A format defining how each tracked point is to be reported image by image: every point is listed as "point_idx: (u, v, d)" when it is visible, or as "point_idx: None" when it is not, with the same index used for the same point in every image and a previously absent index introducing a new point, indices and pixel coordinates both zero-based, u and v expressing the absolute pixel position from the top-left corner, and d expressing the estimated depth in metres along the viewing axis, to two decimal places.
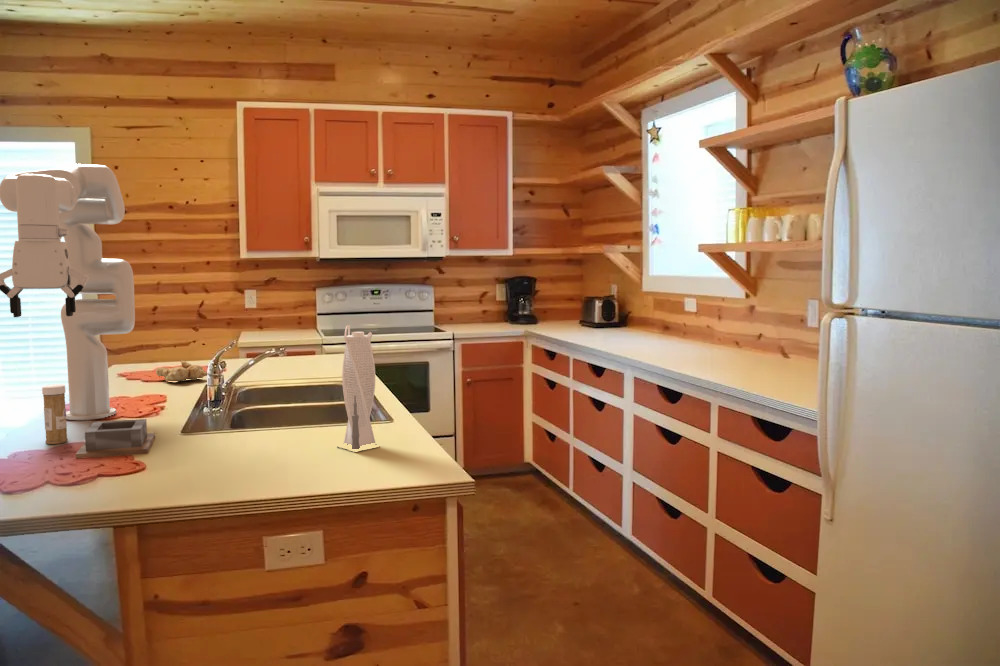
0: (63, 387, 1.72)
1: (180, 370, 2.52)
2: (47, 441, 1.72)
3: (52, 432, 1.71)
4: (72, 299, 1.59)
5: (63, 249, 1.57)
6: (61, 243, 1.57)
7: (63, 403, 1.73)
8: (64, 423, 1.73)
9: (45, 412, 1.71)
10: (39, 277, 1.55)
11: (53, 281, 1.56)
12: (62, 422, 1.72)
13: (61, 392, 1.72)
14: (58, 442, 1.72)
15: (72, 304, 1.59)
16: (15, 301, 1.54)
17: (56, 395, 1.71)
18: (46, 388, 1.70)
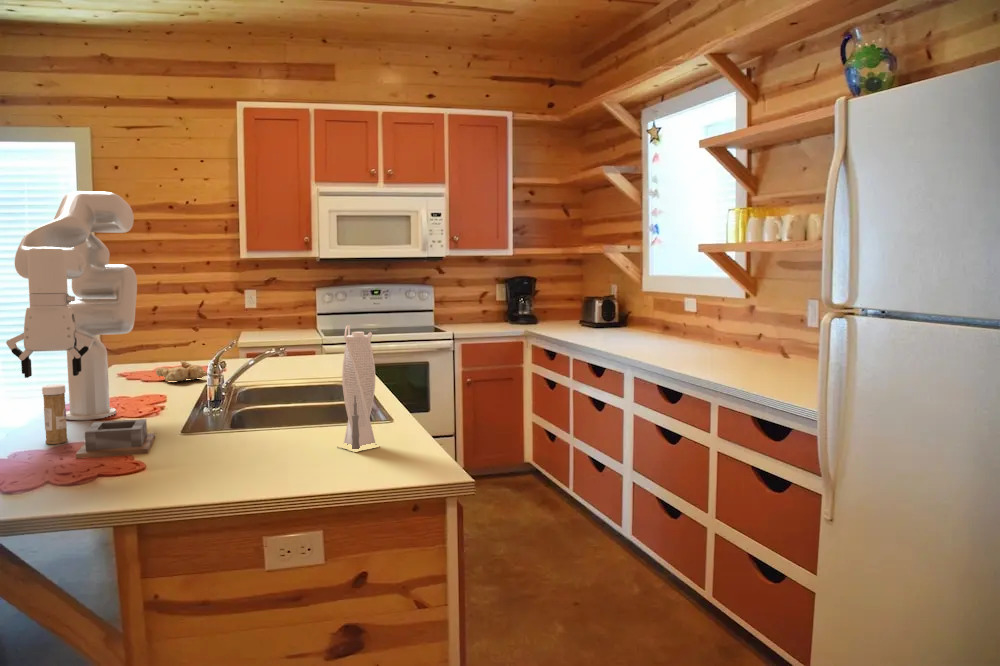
0: (63, 387, 1.72)
1: (180, 370, 2.52)
2: (47, 441, 1.72)
3: (52, 432, 1.71)
4: (78, 360, 1.72)
5: (70, 314, 1.71)
6: (69, 309, 1.71)
7: (63, 403, 1.73)
8: (64, 423, 1.73)
9: (45, 412, 1.71)
10: (48, 340, 1.69)
11: (61, 344, 1.70)
12: (62, 422, 1.72)
13: (61, 392, 1.72)
14: (58, 442, 1.72)
15: (78, 364, 1.72)
16: (26, 363, 1.68)
17: (56, 395, 1.71)
18: (46, 388, 1.70)
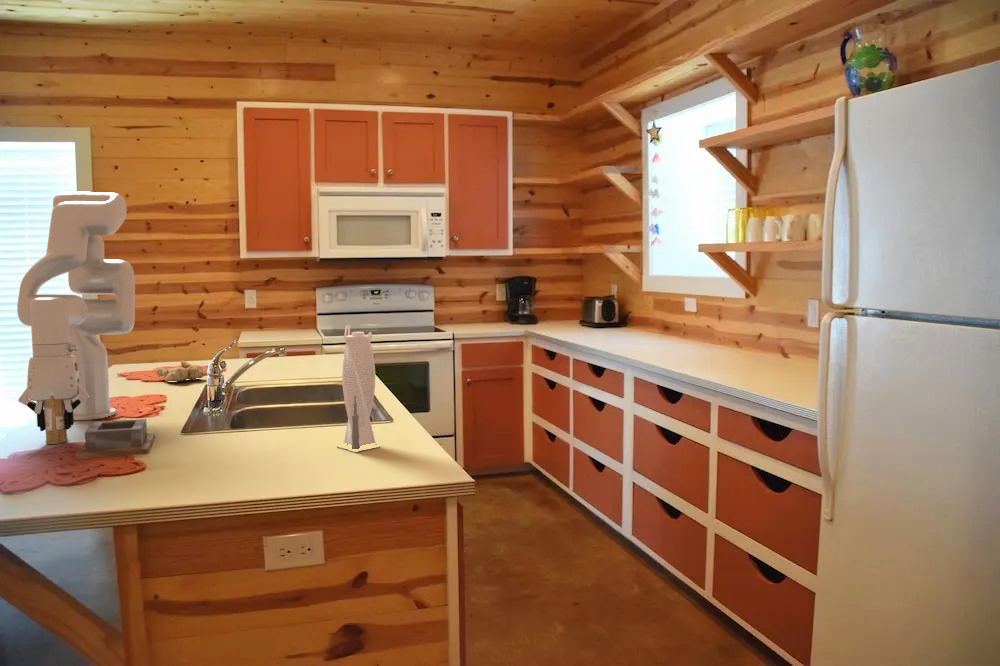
0: None
1: (180, 370, 2.52)
2: (47, 441, 1.72)
3: (52, 432, 1.71)
4: (70, 413, 1.73)
5: (73, 363, 1.72)
6: (71, 358, 1.72)
7: (63, 403, 1.73)
8: (64, 423, 1.73)
9: (45, 412, 1.71)
10: (51, 390, 1.70)
11: (64, 393, 1.71)
12: (62, 422, 1.72)
13: None
14: (58, 442, 1.72)
15: (70, 418, 1.73)
16: (42, 417, 1.71)
17: None
18: None
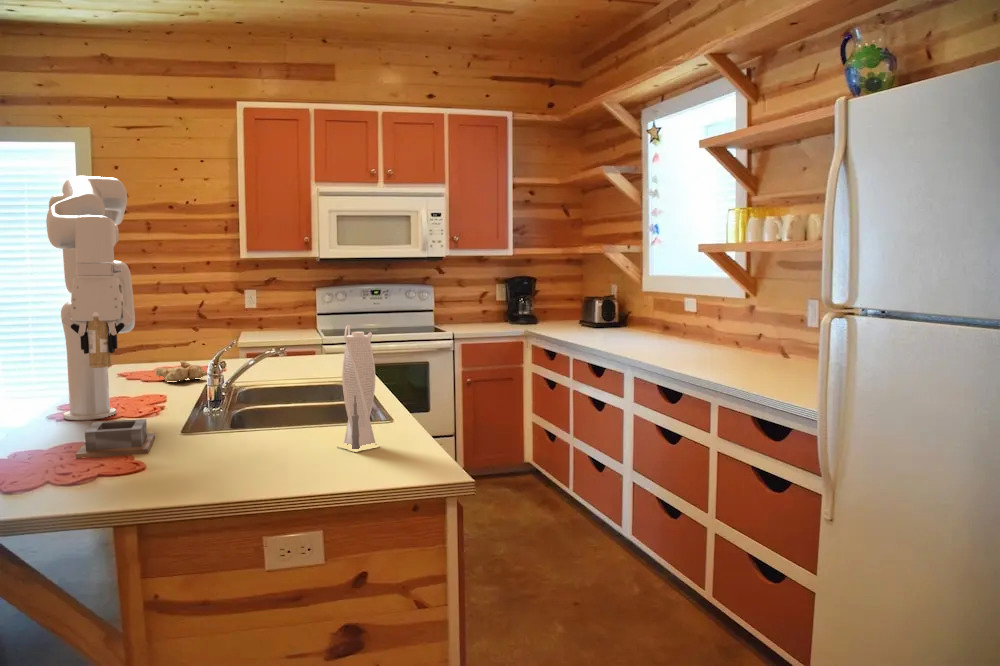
0: None
1: (179, 370, 2.52)
2: (91, 364, 1.67)
3: (96, 355, 1.66)
4: (114, 337, 1.68)
5: (117, 285, 1.67)
6: (116, 279, 1.67)
7: (107, 326, 1.68)
8: (108, 346, 1.68)
9: (89, 334, 1.66)
10: (95, 311, 1.65)
11: (108, 314, 1.66)
12: (105, 345, 1.67)
13: None
14: (102, 365, 1.67)
15: (114, 341, 1.68)
16: (85, 339, 1.66)
17: None
18: None
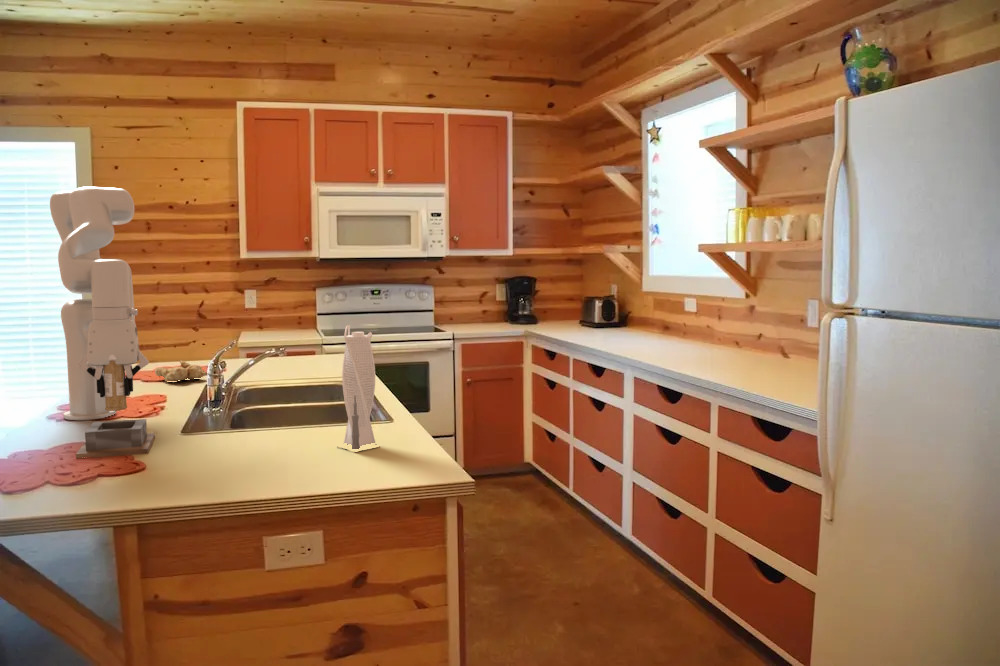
0: None
1: (179, 370, 2.52)
2: (107, 408, 1.67)
3: (112, 399, 1.66)
4: (130, 379, 1.68)
5: (134, 328, 1.67)
6: (132, 322, 1.67)
7: (123, 369, 1.68)
8: (124, 389, 1.68)
9: (105, 378, 1.66)
10: None
11: (124, 358, 1.66)
12: (122, 388, 1.67)
13: None
14: (118, 409, 1.67)
15: (130, 384, 1.69)
16: (102, 382, 1.66)
17: None
18: None
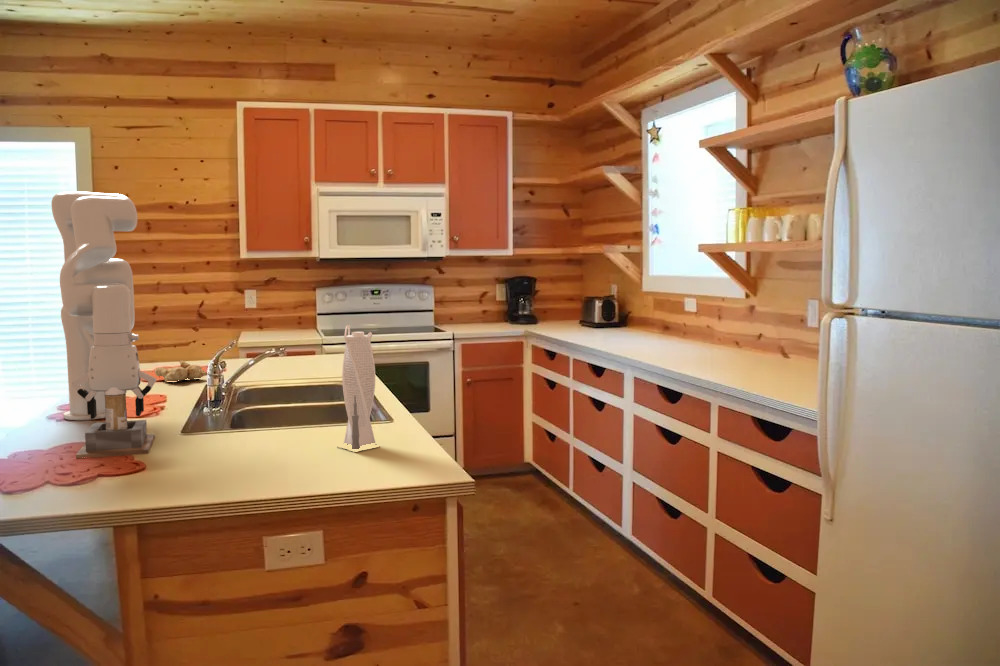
0: None
1: (179, 370, 2.52)
2: None
3: None
4: (141, 400, 1.70)
5: (135, 353, 1.68)
6: (133, 348, 1.68)
7: (124, 403, 1.69)
8: (125, 424, 1.69)
9: (106, 412, 1.67)
10: (113, 380, 1.66)
11: (125, 383, 1.67)
12: (123, 423, 1.68)
13: (123, 392, 1.68)
14: None
15: (141, 404, 1.70)
16: (92, 404, 1.66)
17: (118, 395, 1.67)
18: None
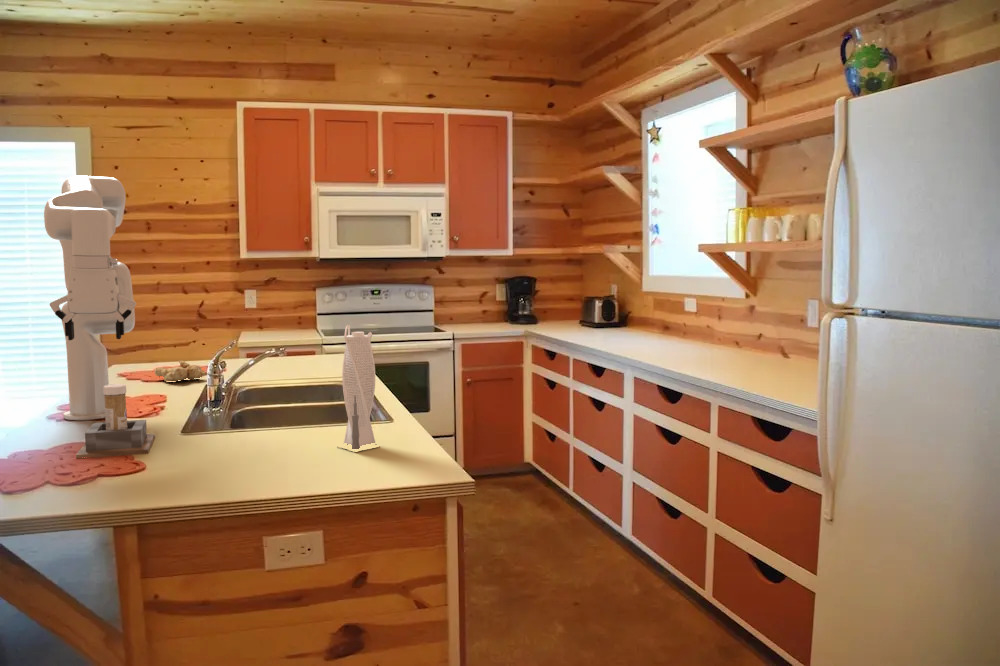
0: (124, 387, 1.68)
1: (179, 370, 2.52)
2: None
3: None
4: (121, 323, 1.71)
5: (114, 277, 1.69)
6: (112, 272, 1.69)
7: (124, 403, 1.69)
8: (125, 424, 1.69)
9: (106, 412, 1.67)
10: (92, 303, 1.67)
11: (105, 307, 1.68)
12: (123, 423, 1.68)
13: (122, 392, 1.68)
14: None
15: (121, 328, 1.71)
16: (70, 325, 1.67)
17: (118, 395, 1.67)
18: (108, 388, 1.66)
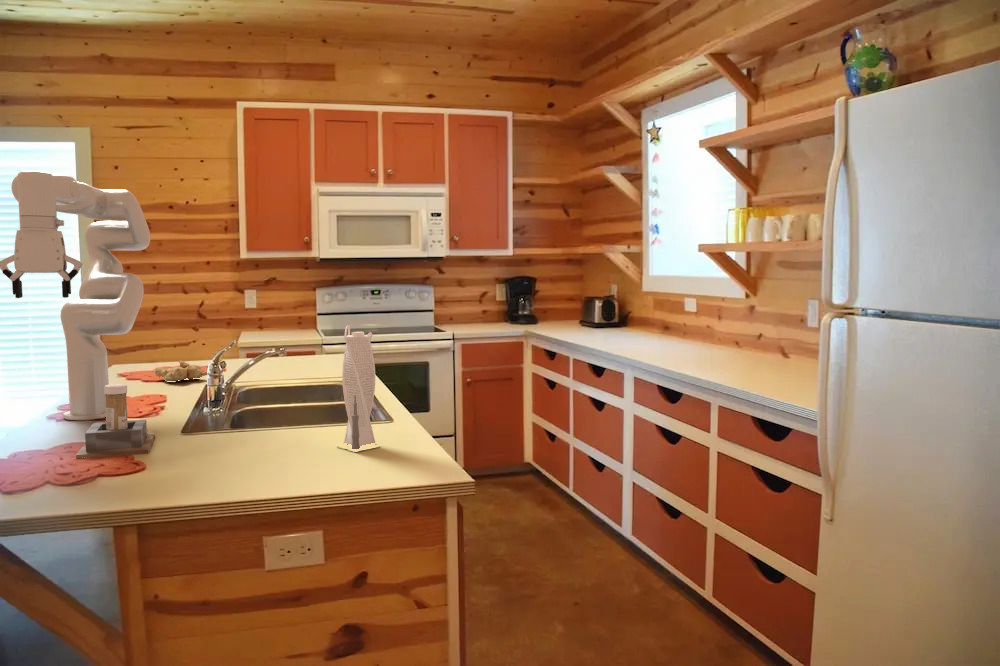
0: (125, 386, 1.69)
1: (179, 370, 2.52)
2: None
3: None
4: (68, 282, 1.78)
5: (60, 237, 1.76)
6: (58, 232, 1.75)
7: (125, 403, 1.69)
8: (126, 423, 1.69)
9: (107, 412, 1.67)
10: (38, 262, 1.74)
11: (51, 266, 1.75)
12: (123, 423, 1.69)
13: (124, 392, 1.68)
14: None
15: (68, 287, 1.78)
16: (17, 284, 1.74)
17: (119, 395, 1.67)
18: (109, 387, 1.67)
